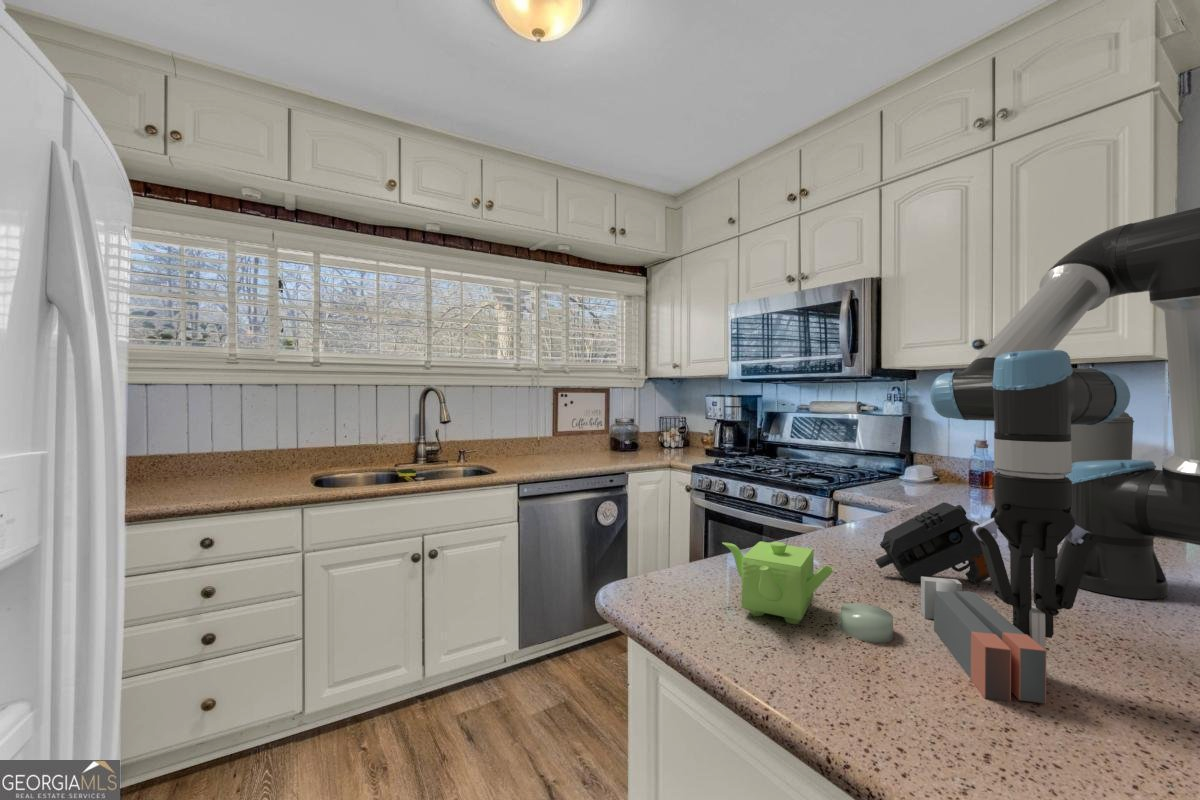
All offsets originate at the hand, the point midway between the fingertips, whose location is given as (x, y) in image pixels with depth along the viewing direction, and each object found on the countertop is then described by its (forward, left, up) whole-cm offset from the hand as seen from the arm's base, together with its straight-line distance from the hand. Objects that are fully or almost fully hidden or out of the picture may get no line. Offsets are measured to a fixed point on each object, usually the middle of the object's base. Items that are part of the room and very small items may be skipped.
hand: (1033, 660), depth 65 cm
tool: (0, -35, -2) cm, 35 cm away
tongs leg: (+3, -2, -2) cm, 4 cm away
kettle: (+30, -12, -2) cm, 33 cm away
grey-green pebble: (+17, -8, -2) cm, 19 cm away
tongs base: (+5, -5, -2) cm, 8 cm away
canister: (-52, -86, -2) cm, 100 cm away
